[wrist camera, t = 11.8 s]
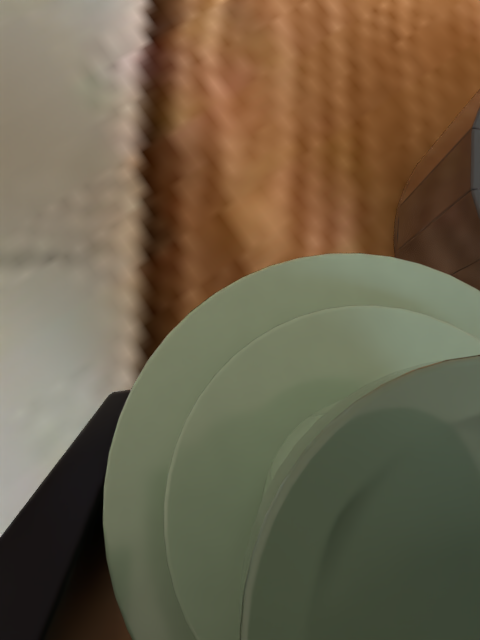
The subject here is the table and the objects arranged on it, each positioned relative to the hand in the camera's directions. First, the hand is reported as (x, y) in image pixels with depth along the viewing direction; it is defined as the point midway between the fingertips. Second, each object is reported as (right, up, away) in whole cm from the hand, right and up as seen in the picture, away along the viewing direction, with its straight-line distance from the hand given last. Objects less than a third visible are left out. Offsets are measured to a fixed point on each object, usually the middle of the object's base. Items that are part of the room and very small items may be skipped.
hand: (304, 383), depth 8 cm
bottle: (0, -2, +6) cm, 6 cm away
